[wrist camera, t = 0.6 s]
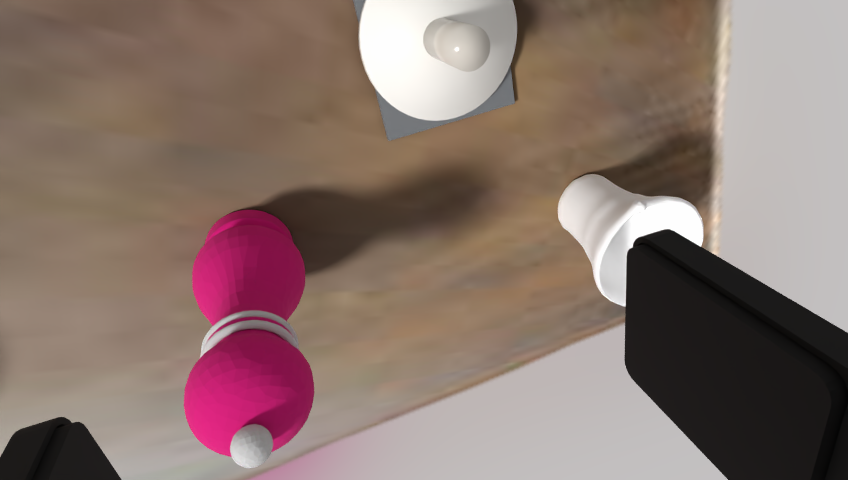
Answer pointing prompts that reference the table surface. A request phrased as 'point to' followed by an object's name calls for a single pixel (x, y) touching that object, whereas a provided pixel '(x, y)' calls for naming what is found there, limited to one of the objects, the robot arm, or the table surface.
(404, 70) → the lid
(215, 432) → the pepper mill
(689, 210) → the cup
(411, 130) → the mat
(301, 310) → the table surface
